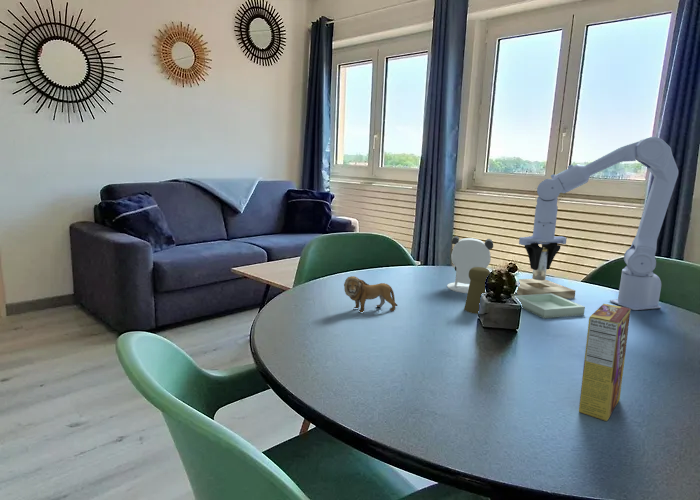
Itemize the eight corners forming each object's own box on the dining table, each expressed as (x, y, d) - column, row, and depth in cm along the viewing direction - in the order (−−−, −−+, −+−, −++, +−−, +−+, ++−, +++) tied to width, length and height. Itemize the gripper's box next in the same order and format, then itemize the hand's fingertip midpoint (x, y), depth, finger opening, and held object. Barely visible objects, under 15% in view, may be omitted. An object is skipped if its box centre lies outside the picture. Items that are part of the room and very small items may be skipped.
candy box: (590, 391, 77) (603, 302, 74) (620, 400, 74) (634, 308, 72) (575, 411, 70) (588, 315, 68) (607, 422, 68) (622, 322, 65)
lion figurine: (348, 316, 110) (349, 279, 108) (339, 310, 114) (340, 274, 113) (402, 310, 116) (404, 275, 114) (392, 304, 120) (393, 270, 119)
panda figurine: (488, 285, 142) (493, 237, 139) (489, 295, 131) (494, 243, 128) (448, 281, 145) (452, 234, 142) (445, 291, 134) (449, 239, 131)
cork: (489, 315, 114) (493, 271, 112) (464, 312, 115) (468, 269, 113) (487, 307, 120) (491, 266, 118) (463, 305, 121) (467, 264, 119)
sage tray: (550, 301, 128) (551, 293, 127) (583, 315, 116) (584, 306, 116) (513, 303, 124) (513, 295, 124) (543, 318, 113) (544, 309, 113)
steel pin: (539, 277, 137) (543, 247, 135) (547, 280, 134) (551, 249, 132) (529, 277, 136) (532, 247, 134) (537, 280, 133) (541, 249, 131)
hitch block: (540, 285, 144) (541, 278, 144) (574, 298, 131) (575, 290, 131) (502, 287, 140) (502, 280, 140) (532, 301, 127) (533, 293, 127)
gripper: (556, 220, 138) (551, 264, 140) (514, 220, 133) (509, 266, 136) (573, 223, 131) (568, 270, 134) (530, 223, 127) (525, 272, 129)
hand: (539, 268), depth 134 cm, fingers closed on steel pin, 3 cm apart
